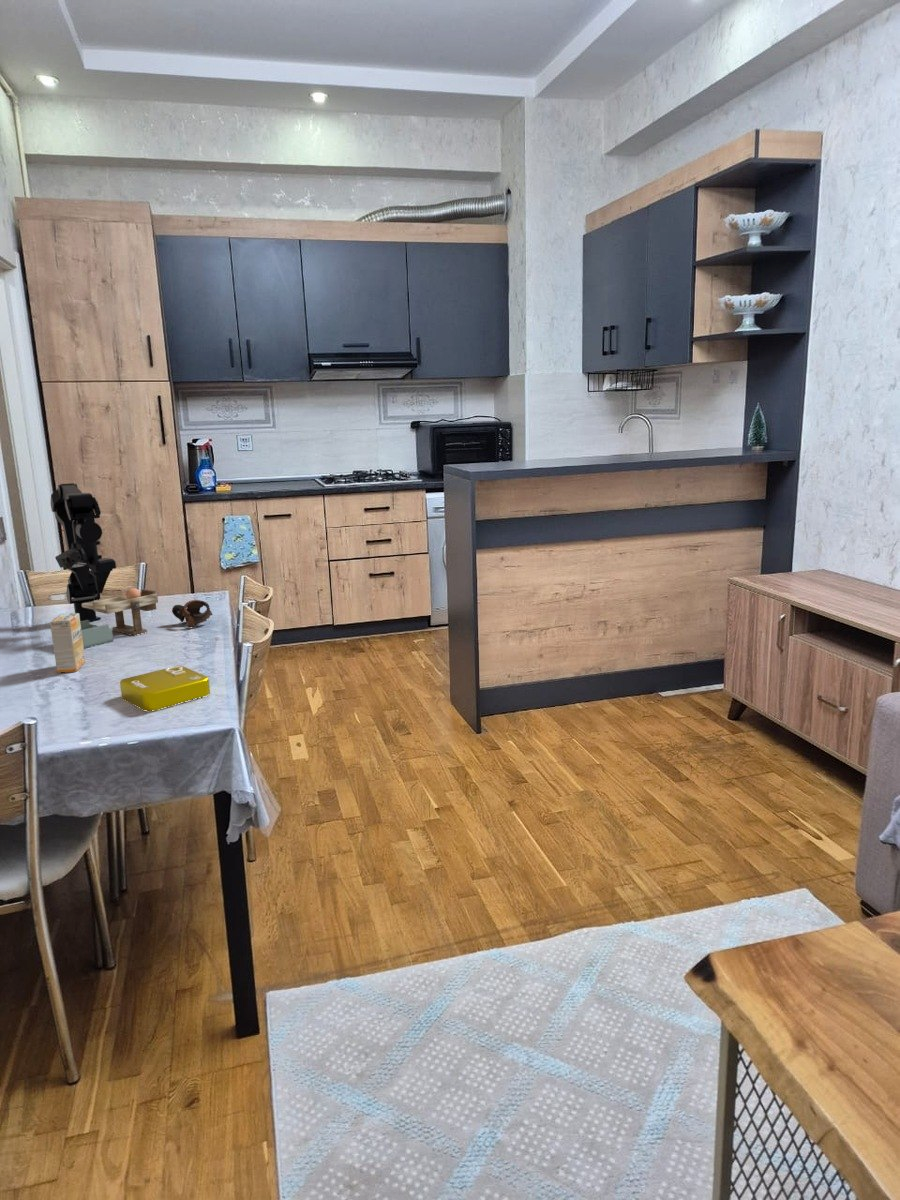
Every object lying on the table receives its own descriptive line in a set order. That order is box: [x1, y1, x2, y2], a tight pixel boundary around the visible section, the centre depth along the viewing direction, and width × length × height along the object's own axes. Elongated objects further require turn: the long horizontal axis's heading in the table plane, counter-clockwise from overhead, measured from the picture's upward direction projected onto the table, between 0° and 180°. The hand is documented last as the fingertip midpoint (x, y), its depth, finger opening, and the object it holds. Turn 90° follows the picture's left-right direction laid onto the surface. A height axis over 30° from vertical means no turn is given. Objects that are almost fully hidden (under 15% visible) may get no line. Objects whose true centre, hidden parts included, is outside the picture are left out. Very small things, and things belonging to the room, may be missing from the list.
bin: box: [80, 620, 114, 649], centre depth 220 cm, size 11×11×5 cm
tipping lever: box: [82, 588, 159, 615], centre depth 232 cm, size 16×15×5 cm
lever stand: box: [111, 601, 148, 636], centre depth 230 cm, size 4×11×10 cm, turn 54°
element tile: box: [119, 665, 211, 712], centre depth 175 cm, size 15×15×5 cm
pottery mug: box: [171, 599, 213, 628], centre depth 237 cm, size 12×10×8 cm
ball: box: [125, 587, 141, 599], centre depth 231 cm, size 4×4×4 cm
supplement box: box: [49, 612, 86, 674], centre depth 197 cm, size 8×5×13 cm, turn 9°
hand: (92, 591), depth 230 cm, fingers open, 8 cm apart
